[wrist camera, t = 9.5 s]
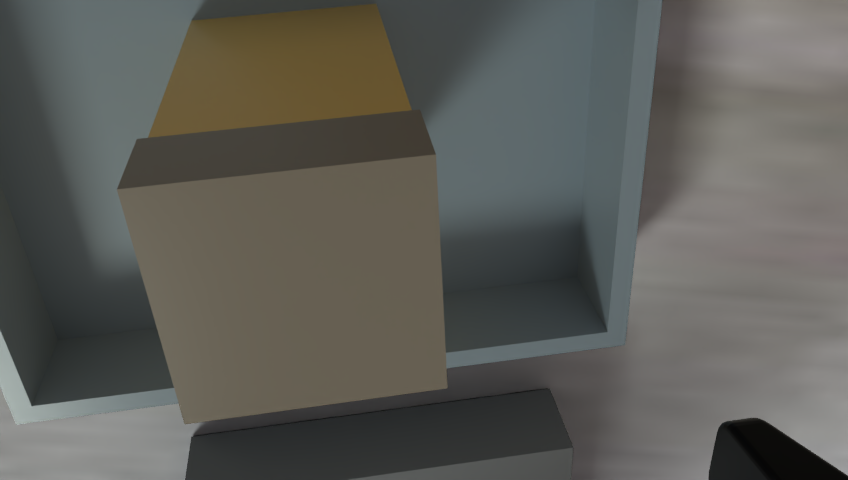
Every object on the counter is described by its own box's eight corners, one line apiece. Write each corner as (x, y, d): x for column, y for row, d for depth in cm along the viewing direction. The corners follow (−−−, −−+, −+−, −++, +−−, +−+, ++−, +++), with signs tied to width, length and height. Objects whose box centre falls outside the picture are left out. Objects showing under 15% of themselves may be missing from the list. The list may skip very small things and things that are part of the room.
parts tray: (48, 345, 22) (16, 424, 19) (-160, -206, 15) (-254, -196, 12) (588, 279, 23) (624, 345, 20) (627, -251, 16) (689, -252, 14)
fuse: (221, 189, 19) (184, 424, 13) (185, 16, 17) (116, 189, 10) (393, 170, 20) (447, 387, 13) (380, -2, 18) (436, 154, 11)
